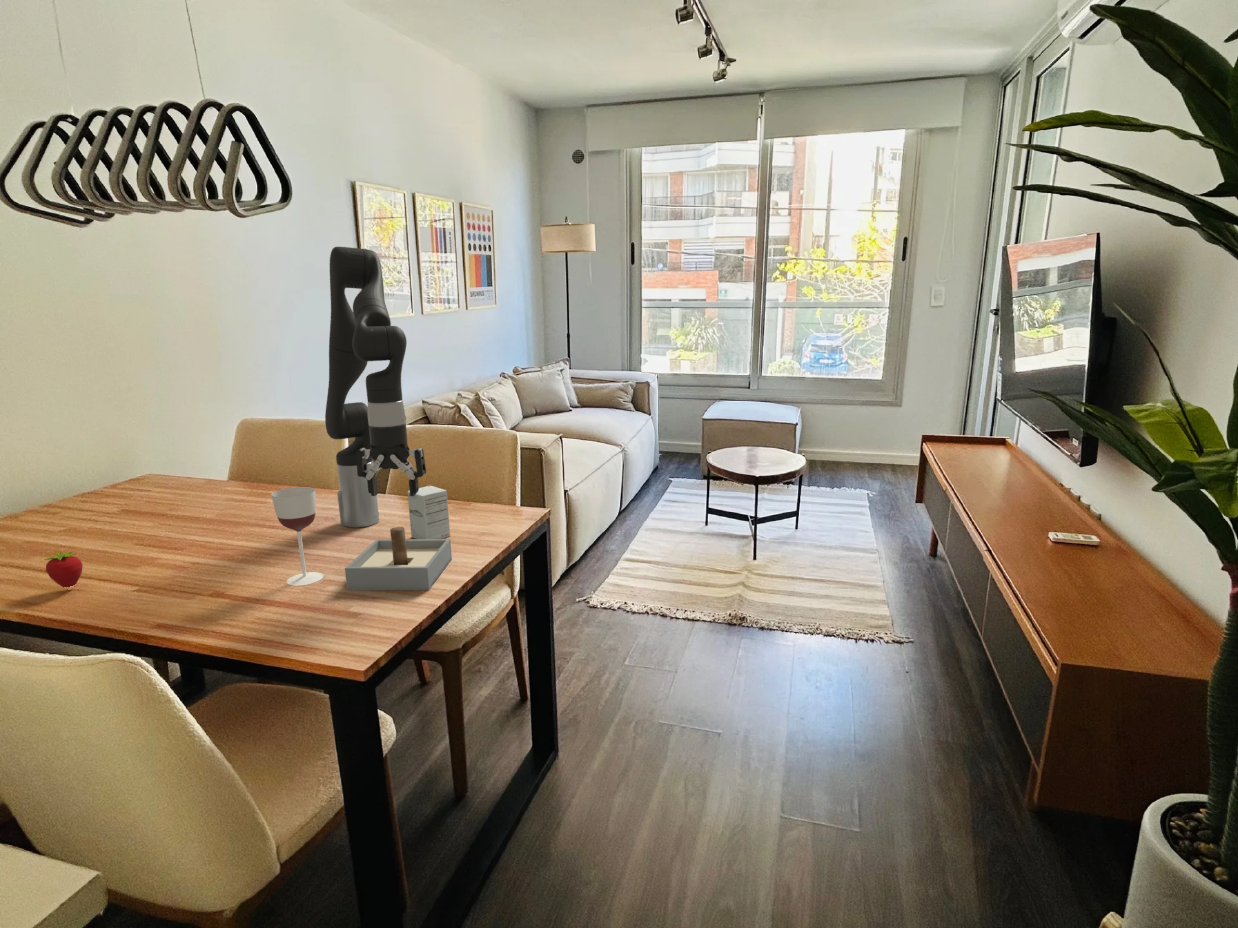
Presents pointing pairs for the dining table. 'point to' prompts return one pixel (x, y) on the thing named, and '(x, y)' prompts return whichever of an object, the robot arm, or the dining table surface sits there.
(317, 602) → the dining table surface
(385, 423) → the robot arm
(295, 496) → the wineglass
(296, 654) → the dining table surface
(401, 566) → the peg box
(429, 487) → the supplement box
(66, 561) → the strawberry
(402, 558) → the peg
